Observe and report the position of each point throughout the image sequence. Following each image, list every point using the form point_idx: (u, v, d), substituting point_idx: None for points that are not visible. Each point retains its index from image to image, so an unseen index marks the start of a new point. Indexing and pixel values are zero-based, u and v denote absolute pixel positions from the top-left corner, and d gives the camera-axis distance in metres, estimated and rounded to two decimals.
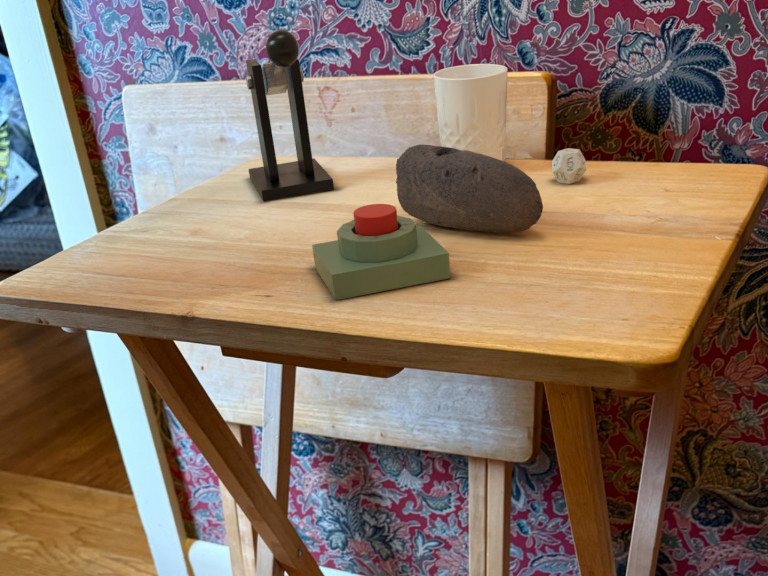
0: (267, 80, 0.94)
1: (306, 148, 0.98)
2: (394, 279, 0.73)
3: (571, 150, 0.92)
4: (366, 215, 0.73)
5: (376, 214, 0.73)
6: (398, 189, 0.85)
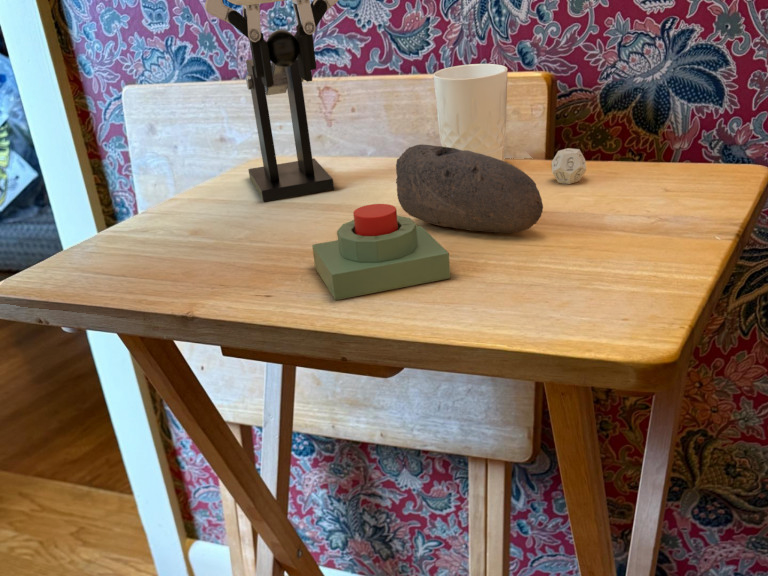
0: None
1: (306, 148, 0.98)
2: (394, 279, 0.73)
3: (571, 150, 0.92)
4: (366, 215, 0.73)
5: (376, 214, 0.73)
6: (398, 189, 0.85)
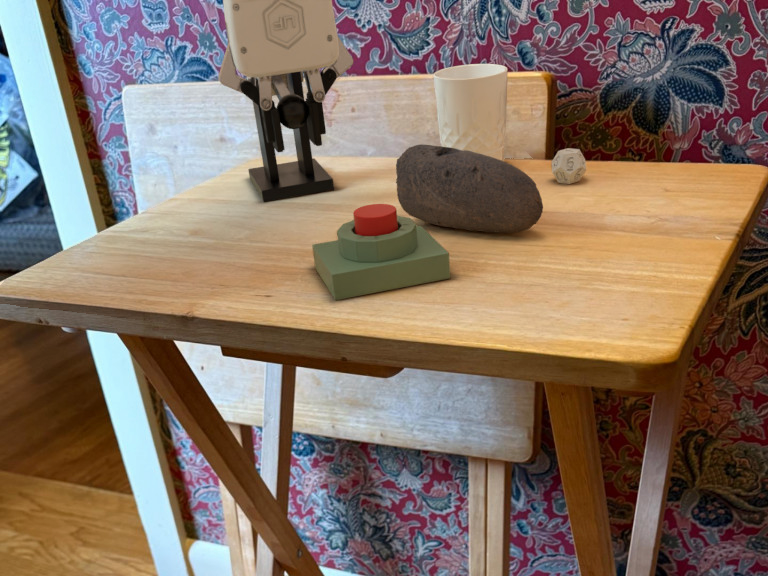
0: None
1: (306, 148, 0.98)
2: (394, 279, 0.73)
3: (571, 150, 0.92)
4: (366, 215, 0.73)
5: (376, 214, 0.73)
6: (398, 189, 0.85)
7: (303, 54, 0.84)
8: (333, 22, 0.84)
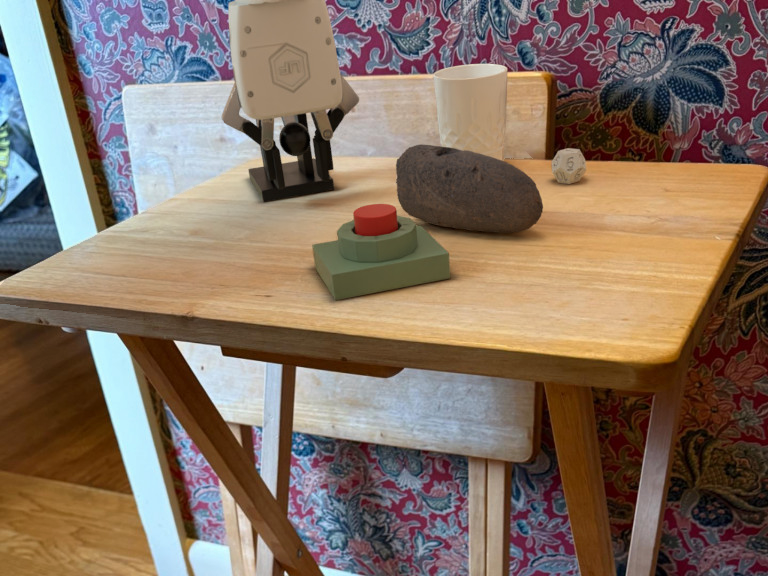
0: None
1: None
2: (394, 279, 0.73)
3: (571, 150, 0.92)
4: (366, 215, 0.73)
5: (376, 214, 0.73)
6: (398, 189, 0.85)
7: (308, 97, 0.87)
8: (337, 66, 0.87)
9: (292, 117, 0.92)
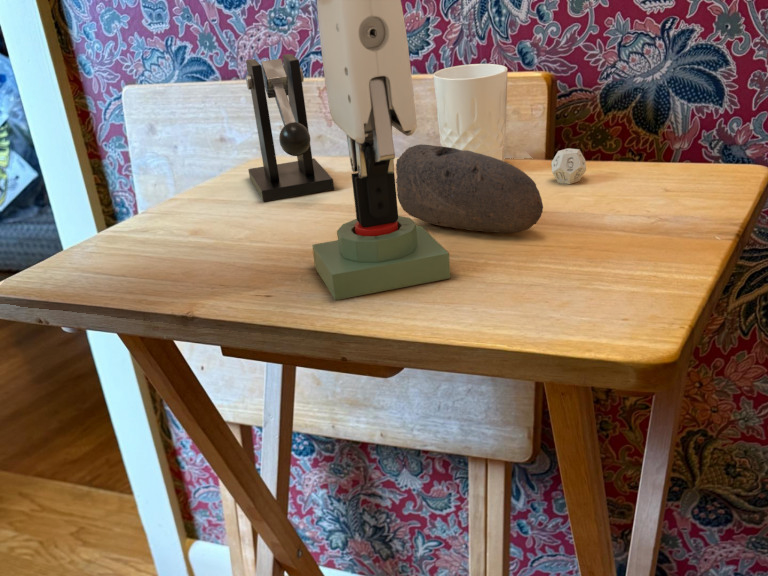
0: (268, 92, 0.95)
1: None
2: (394, 279, 0.73)
3: (571, 150, 0.92)
4: (367, 227, 0.73)
5: (377, 227, 0.73)
6: (398, 189, 0.85)
7: None
8: None
9: (292, 117, 0.92)
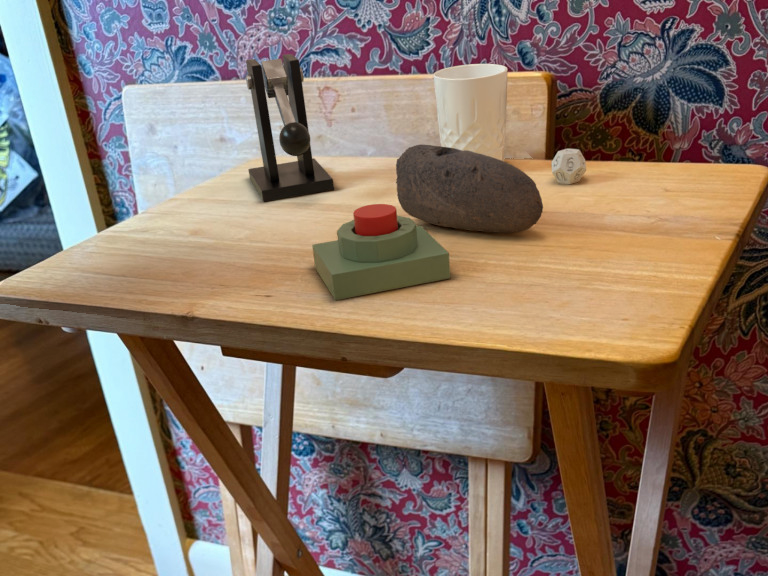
0: (268, 92, 0.95)
1: None
2: (394, 279, 0.73)
3: (571, 150, 0.92)
4: (366, 215, 0.73)
5: (376, 215, 0.73)
6: (398, 189, 0.85)
7: None
8: None
9: (292, 117, 0.92)
